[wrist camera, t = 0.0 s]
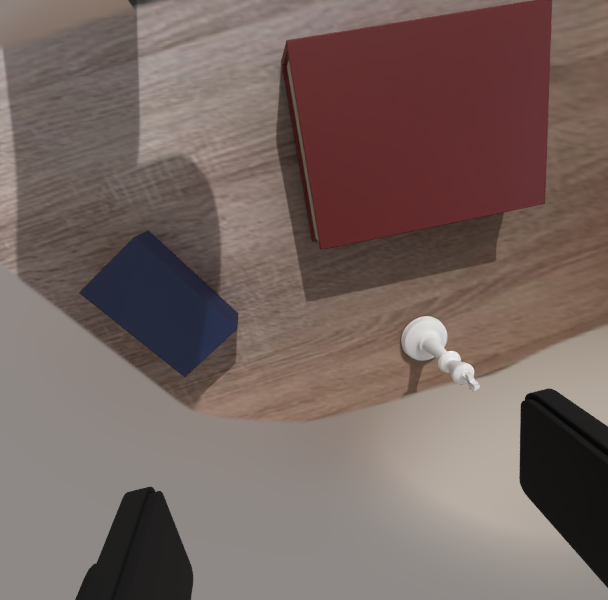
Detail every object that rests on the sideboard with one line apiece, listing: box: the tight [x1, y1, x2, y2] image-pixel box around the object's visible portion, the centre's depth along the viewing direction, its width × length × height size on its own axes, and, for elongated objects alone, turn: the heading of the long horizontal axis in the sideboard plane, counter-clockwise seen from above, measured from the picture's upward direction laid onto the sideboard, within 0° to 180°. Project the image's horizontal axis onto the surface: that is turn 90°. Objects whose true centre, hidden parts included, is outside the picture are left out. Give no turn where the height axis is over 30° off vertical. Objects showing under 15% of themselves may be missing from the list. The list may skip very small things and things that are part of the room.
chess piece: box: [401, 316, 480, 391], centre depth 35 cm, size 5×5×10 cm
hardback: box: [281, 0, 552, 250], centre depth 31 cm, size 20×15×4 cm
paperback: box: [79, 231, 238, 377], centre depth 33 cm, size 11×6×4 cm, turn 42°
